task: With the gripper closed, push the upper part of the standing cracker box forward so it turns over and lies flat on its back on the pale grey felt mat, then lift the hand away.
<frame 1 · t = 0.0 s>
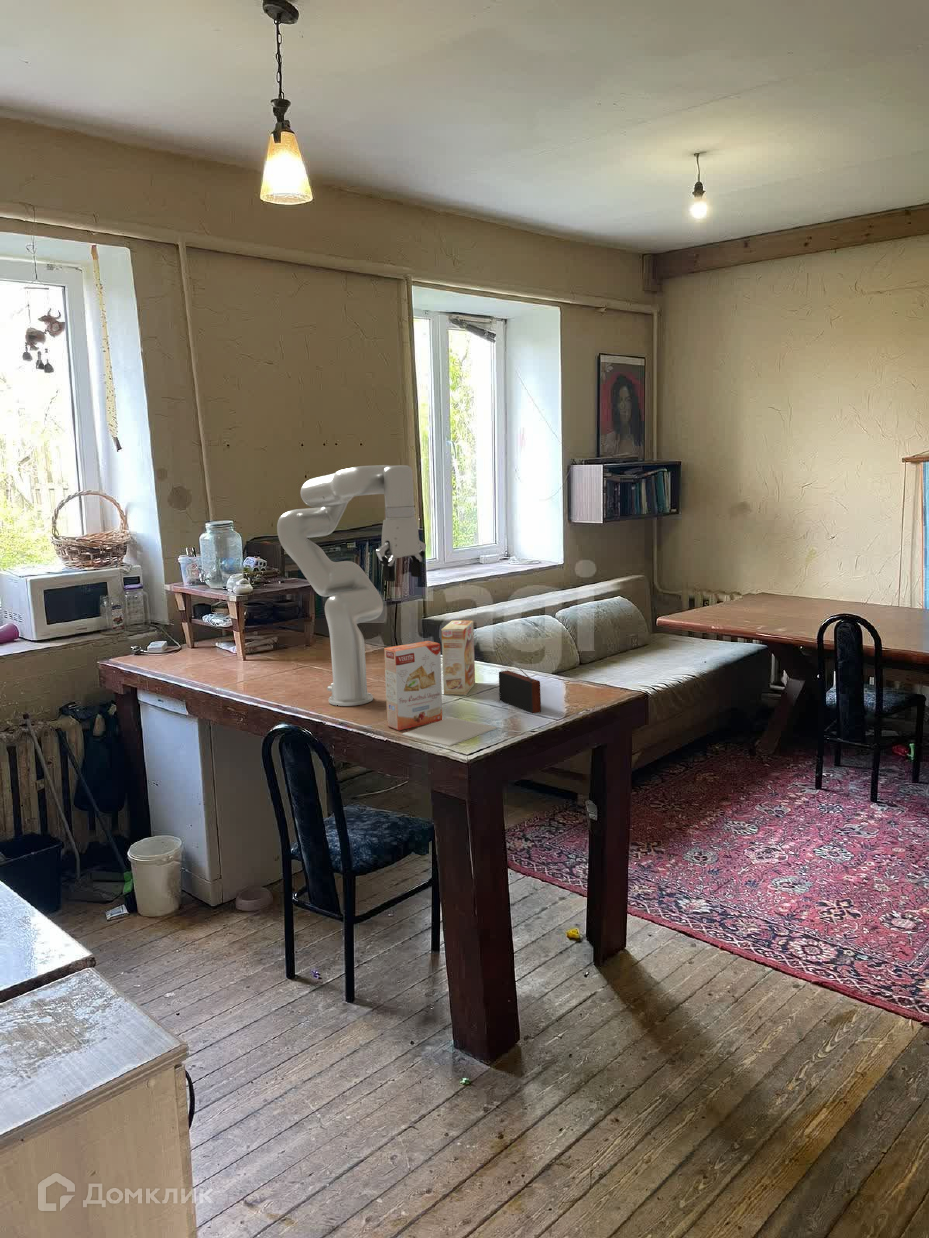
hand: (403, 578, 240), 37 cm above the table, tool pointing down, fingers open, 9 cm apart
coffeecake box: (460, 689, 272), on the table
black-faced wooden tile: (518, 706, 251), on the table
cracker box: (415, 724, 237), on the table
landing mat: (449, 731, 229), on the table
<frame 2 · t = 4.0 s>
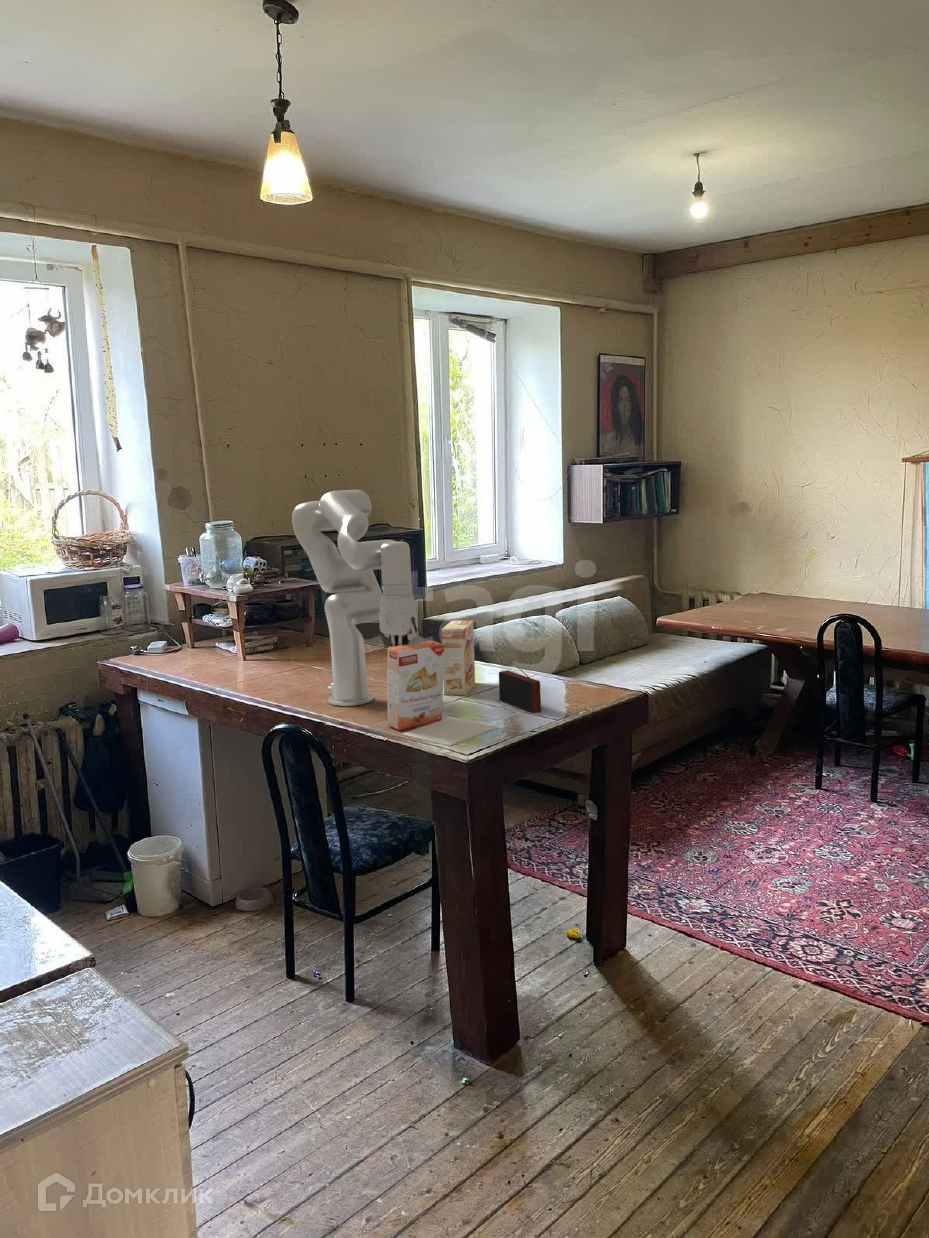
hand: (401, 660, 237), 16 cm above the table, tool pointing down, fingers closed
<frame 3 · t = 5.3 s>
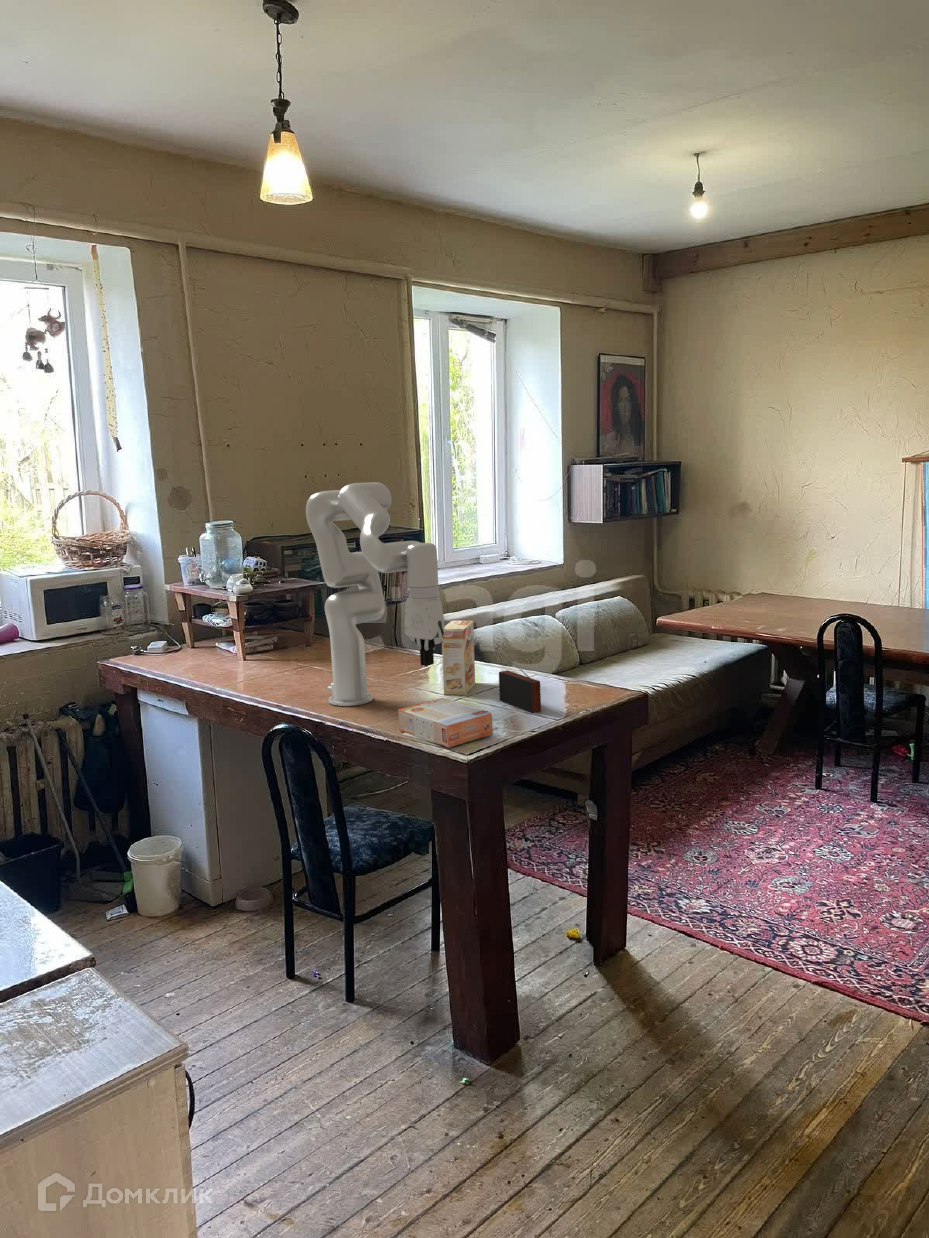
hand: (427, 664, 231), 16 cm above the table, tool pointing down, fingers closed
cracker box: (420, 714, 234), point 3 cm above the table, touching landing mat
everything else where it was.
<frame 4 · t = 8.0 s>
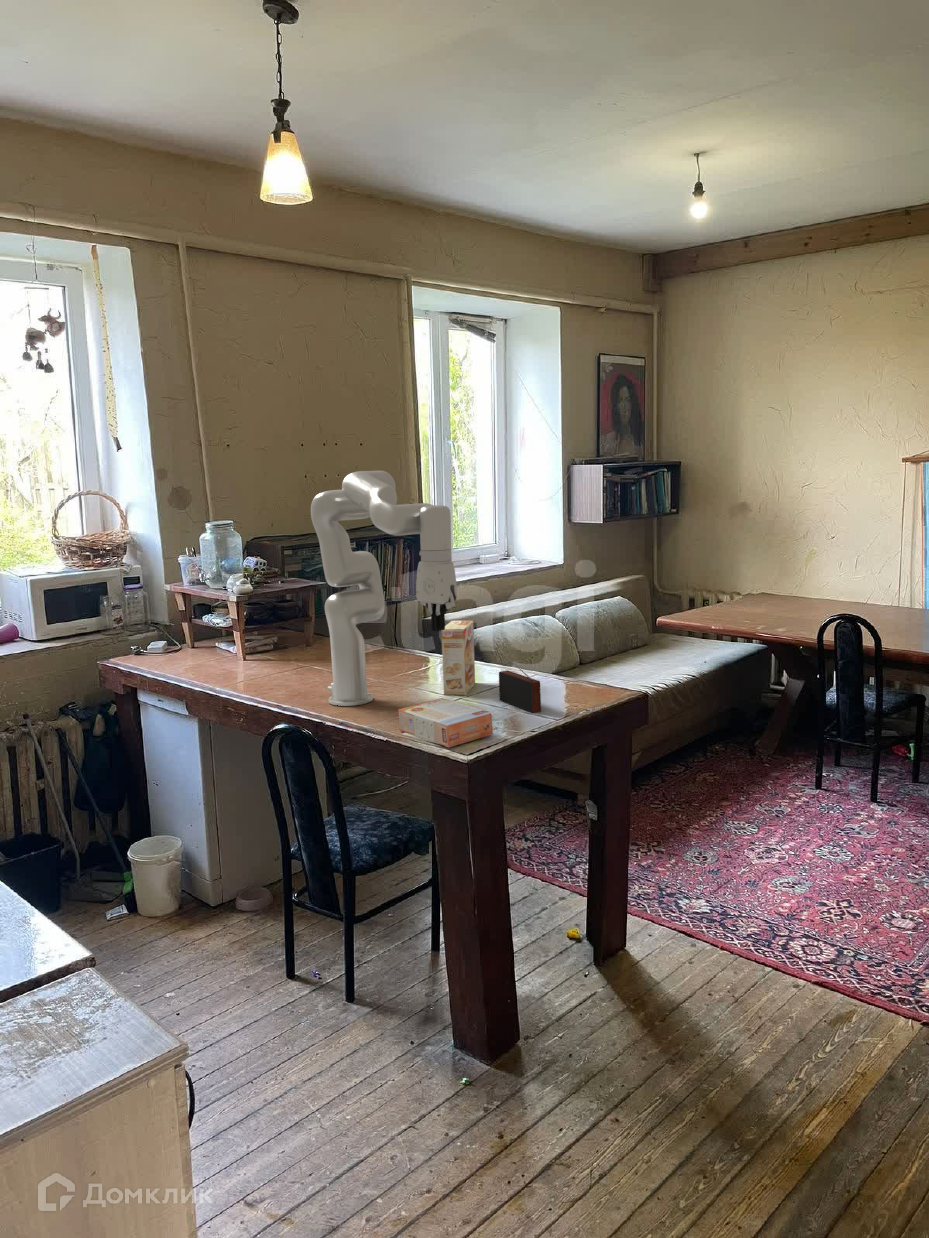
hand: (438, 629, 226), 26 cm above the table, tool pointing down, fingers closed
nothing on the table moved.
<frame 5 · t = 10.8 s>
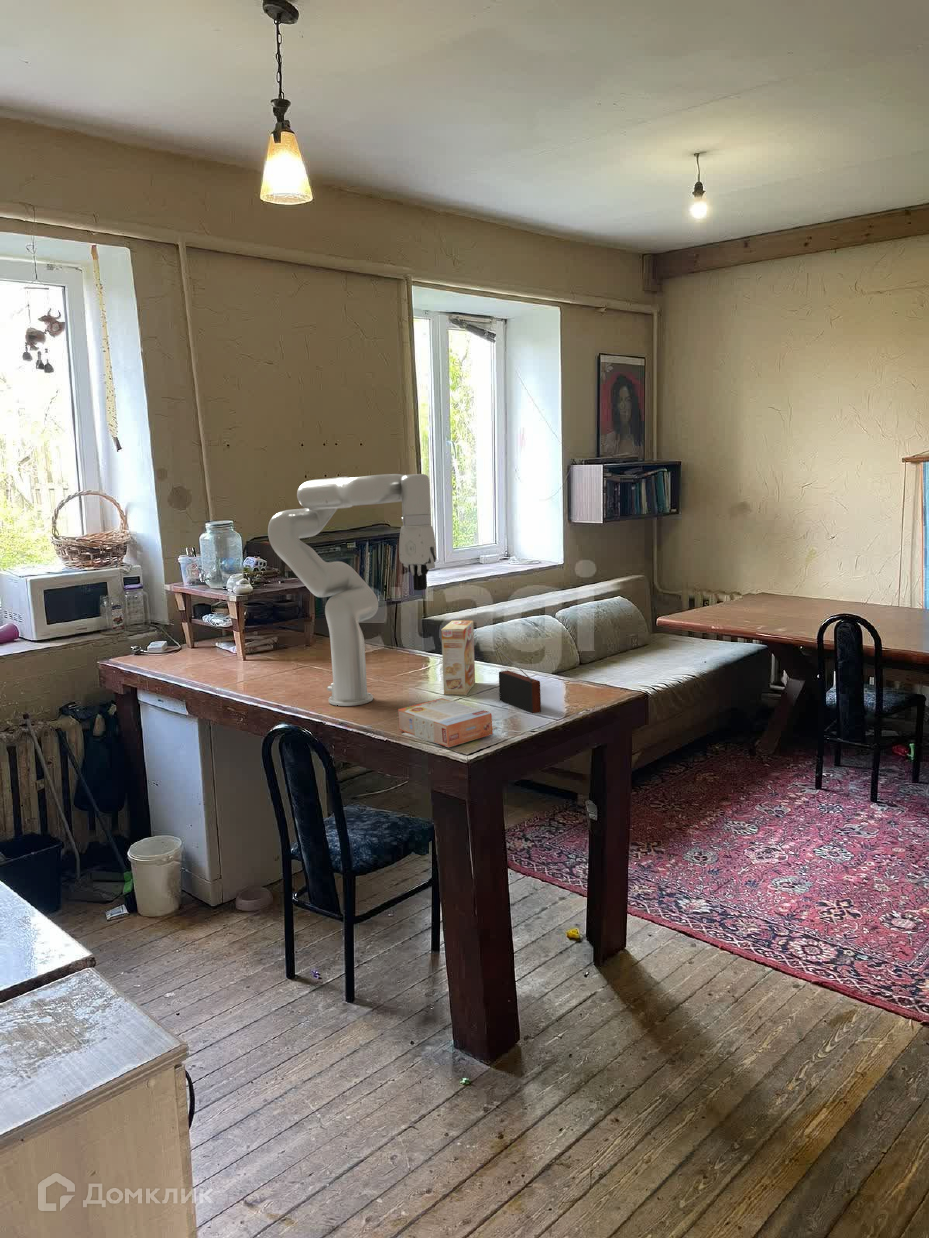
hand: (420, 589, 245), 33 cm above the table, tool pointing down, fingers closed
nothing on the table moved.
at the end: cracker box tilted 89°; cracker box inside the target area (4.7 cm from its centre), point 3.1 cm above the table; cracker box touching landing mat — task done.
